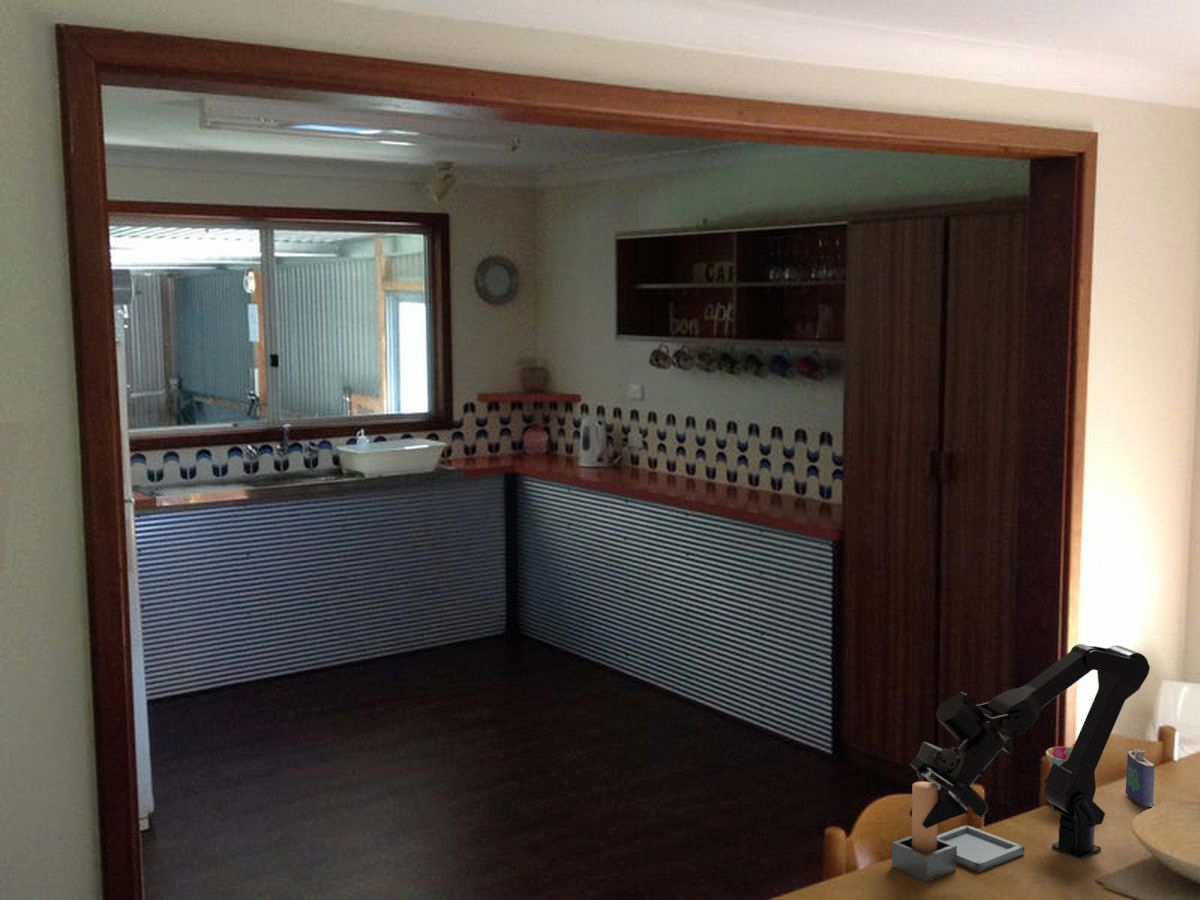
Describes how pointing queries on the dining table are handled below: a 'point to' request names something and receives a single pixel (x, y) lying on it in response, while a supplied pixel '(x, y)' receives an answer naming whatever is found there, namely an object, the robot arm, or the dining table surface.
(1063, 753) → the mug
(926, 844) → the peg
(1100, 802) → the dining table surface
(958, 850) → the tray
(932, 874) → the square socket holder
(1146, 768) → the flask
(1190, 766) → the dining table surface
